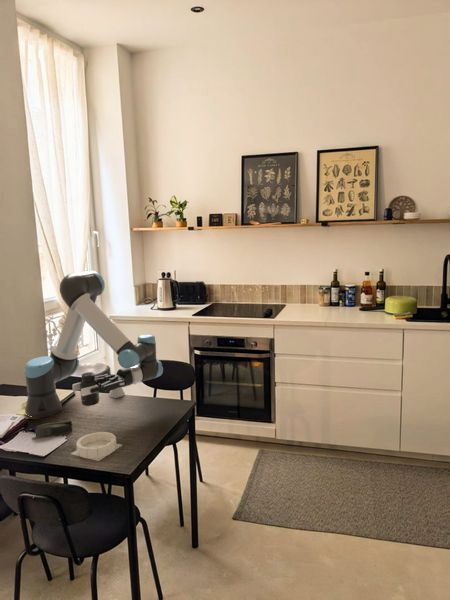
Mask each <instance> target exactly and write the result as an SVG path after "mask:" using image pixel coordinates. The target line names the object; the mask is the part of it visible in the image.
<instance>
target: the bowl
mask: <svg viewBox="0 0 450 600" xmlns="http://www.w3.org/2000/svg"><path fill="white" fill-rule="evenodd" d="M116 443H117V436H115V435H114V434H113V433H112V432H108V431H96V432H92V433H91V432H90V433H88V434H85V435H82V437H80V438H78V439H77V442H76V443H75V444H76V450H77V453H78V455H79V456H78V457H80V458H84V459H89V460H91V459H90V458H100V457H103V456H106V457H107V456H109V455H111V454H112V453H113V452H115V451H116V450H117V449H116ZM115 449H116V450H115Z"/></svg>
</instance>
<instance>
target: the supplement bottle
mask: <svg viewBox="0 0 450 600" xmlns="http://www.w3.org/2000/svg"><path fill="white" fill-rule="evenodd" d="M95 377H96V375H95V373H94V372H93V371H90V372H84V373H82V374H81V381H80V382H79V383H80V390H79V391H80V392H81V389H83V388H87V387H90V386H94V385H98V382H97V380H96V379H94V378H95ZM80 399H81V404H82V406H86V407H91V406H96V405H97V404H98V403H99V402H100V392H99V391H98V392H96V393H92V394H89V395H85V396H81V395H80Z"/></svg>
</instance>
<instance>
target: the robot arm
mask: <svg viewBox="0 0 450 600" xmlns="http://www.w3.org/2000/svg"><path fill="white" fill-rule="evenodd" d="M104 290H105V279H103V276H102V275H101V274H100V273H99V272H97V271H95V270H85V271H80V272H75V273H69V274H67V275H65V276H64V277H63V278H62V280H61V281H60V283H59V293H60V294H59V295H60V297H61V299H62V300H63V302H64V303H65V305H66V306H67V307H68V310H67V313H66V315H65V319H64V322H63V324H62V325H63V326H62V329H61V332H60V335H59V338H58V341H57V343H56V346H53V347H52V348H51V351H50V354H49V356H47V355H46V356H43V355H42V356H39V357H35V358H32V359H30V360H29V361H27V362H26V364H25V365H24V367H25V368H24V370H25V371H24V376H25V381H26V391H27V400H26V405H25V408H24V414H25V413H26V414H27V415H29V416H32V417H35V418H45V417H50V416H53V415H56V414H57V413H59V412H61V411H62V408H63V406H62V405H63V404H62V402H61V400H60V398H59V396H58V394H57V391H56V390H57V388H56V383H57V382H58V383H59V382H60V381H62V380H64V379H67V378H69V377H70V376H72V375H74V374H75V373H76V372H77V370H78V369H79V365H80V361H79V359H78V358H79V356H78V352H77V347H78V344H79V342H80V338H81V335H82V333H83V329H84V327H85V323H87V324H88V325H89V326H90V327H91V328H92V329H93V330H94V332H95V333H96V334H97V335H98V336H99V337H100V338H101V339H102V340H103V341H104V342H105V343H106V344H107V345H108V346H109V347H110V348H111V350H112V351H113V352H114V353H115V354H116V355H117V362H118V364H119V366H120V367H121V368H120V369H117V372H116V374H115V373H111V374H110V373H109V372H108V373H105V374H100V375H95V378H94V379H96V380H97V382H98V385H94V386H90V387H87V388H83V389H81V391H80V382H77V383H73V384H72V386H71V387H72V392H77V391H80V397H81V396H85V395H89V394H92V393H96V392H98V391H99V393H103V394H105V393H107V392H110V391H111V390H114V389H117V388H120V387H122V388H126V387H129V386H131V385H137V384H139V383H142V382H145V381H150V380H153V379H157V378H158V377H160V376H162V374H163V372H164V367H163V364H162V362H161V360H159V359H157V346H156V345H157V342H156V337H155V335H153V334H148V333H147V334H141V335H138V337H137V341H136V344H134V343H133V342H132V341H131V340H130V339H129V338H128V337H127V335H126V334H124V333H123V331H122V330H121V329H119V327H118V326H117V325H116V324H115V323H114V322H113V321H112V320H111V319H110V318H109V317H108V316H107V314H105V313H104V311H103V310H102V309H101V308H100V307H99V306H98V305H97V304H96V301H97V298H98V297H99V296H101V294H103V293H104ZM26 414H25V415H26ZM32 417H31V418H32ZM35 418H34V419H35Z"/></svg>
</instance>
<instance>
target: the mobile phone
mask: <svg viewBox="0 0 450 600" xmlns="http://www.w3.org/2000/svg"><path fill="white" fill-rule="evenodd" d="M72 432H73V423H72V421H71V420H63V421H57V422H47V423H42V424H39V425H36V427H35V428H34V436H33V437H31V440H36V439H41V438H48V437H49V436H50V437H55V436H62V435H63V434H68V433H72Z"/></svg>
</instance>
